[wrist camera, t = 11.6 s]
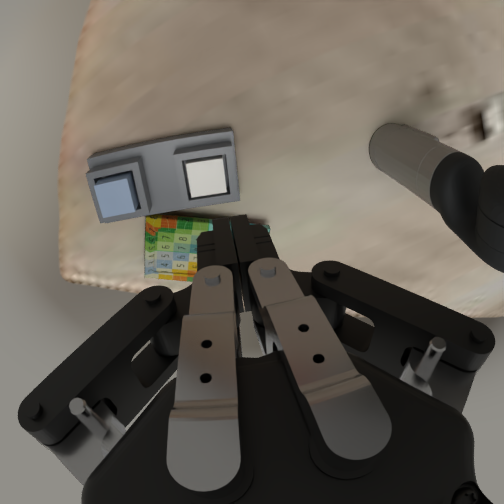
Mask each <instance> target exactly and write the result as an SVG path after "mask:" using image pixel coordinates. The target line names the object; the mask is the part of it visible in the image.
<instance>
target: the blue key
mask: <svg viewBox="0 0 504 504" xmlns="http://www.w3.org/2000/svg"><path fill="white" fill-rule="evenodd" d="M94 189H95V192H96V196H97V199H98V203H99V206H100V209H101V213H102V216H103V218H106V217H111V216H116V215H121V214H127V213H132V212H135V211H136V209H137V206H138V204H139V202H138V198H137V194H136V189H135V185H134V181H133V177H132V172H127V173H122V174H118V175H113V176H109V177H104V178H100V179H99V180H98V181H97V183H96V184H95V185H94Z"/></svg>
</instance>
